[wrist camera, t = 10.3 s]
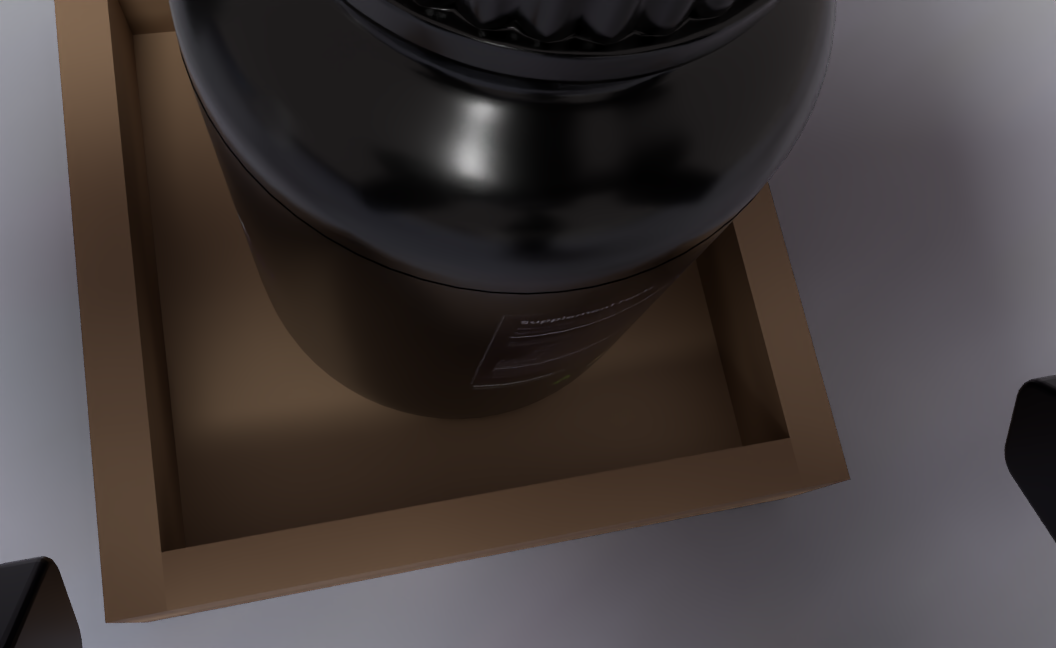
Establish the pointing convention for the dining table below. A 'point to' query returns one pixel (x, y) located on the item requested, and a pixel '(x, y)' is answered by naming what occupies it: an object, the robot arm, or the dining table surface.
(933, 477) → the dining table surface
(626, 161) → the supplement bottle
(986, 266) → the dining table surface
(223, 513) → the walnut holder
